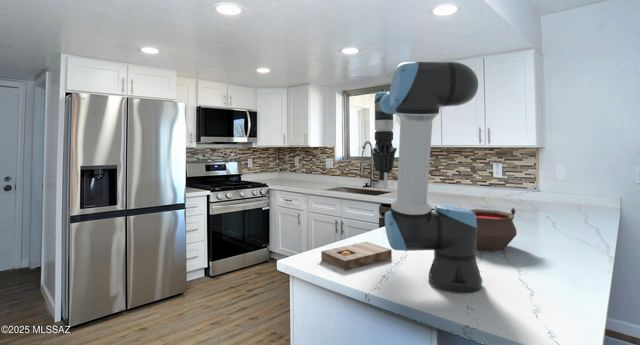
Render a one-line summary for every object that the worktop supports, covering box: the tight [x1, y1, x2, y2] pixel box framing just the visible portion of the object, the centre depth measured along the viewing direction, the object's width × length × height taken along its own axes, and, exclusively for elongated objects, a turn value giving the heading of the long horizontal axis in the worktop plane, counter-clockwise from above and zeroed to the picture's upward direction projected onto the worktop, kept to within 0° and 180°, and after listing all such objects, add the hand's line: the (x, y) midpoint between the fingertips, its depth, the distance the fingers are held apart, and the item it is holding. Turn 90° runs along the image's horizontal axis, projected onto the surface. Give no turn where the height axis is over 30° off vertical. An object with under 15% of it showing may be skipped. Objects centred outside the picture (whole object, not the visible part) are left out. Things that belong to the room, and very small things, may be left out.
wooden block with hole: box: [320, 241, 393, 272], centre depth 132 cm, size 22×14×4 cm, turn 124°
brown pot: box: [469, 207, 517, 252], centre depth 147 cm, size 24×24×16 cm
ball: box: [341, 251, 351, 256], centre depth 129 cm, size 4×4×4 cm
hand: (383, 188), depth 148 cm, fingers closed
